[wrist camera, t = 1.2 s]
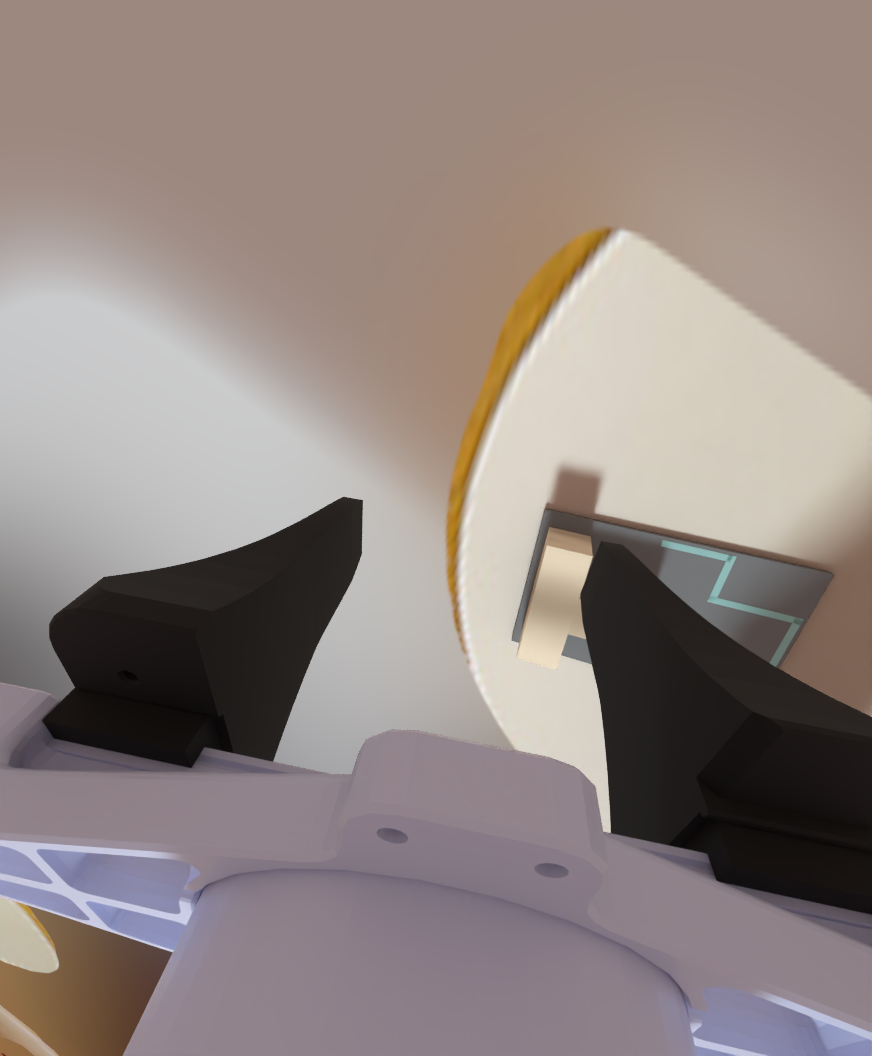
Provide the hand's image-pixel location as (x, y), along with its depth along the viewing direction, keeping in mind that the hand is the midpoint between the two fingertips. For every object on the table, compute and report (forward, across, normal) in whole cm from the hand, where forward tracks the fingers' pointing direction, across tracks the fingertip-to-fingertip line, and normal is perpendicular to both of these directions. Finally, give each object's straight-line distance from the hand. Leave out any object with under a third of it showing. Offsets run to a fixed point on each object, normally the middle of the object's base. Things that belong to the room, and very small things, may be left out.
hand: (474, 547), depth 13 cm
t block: (+11, -8, +10) cm, 17 cm away
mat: (+11, -12, +10) cm, 19 cm away
